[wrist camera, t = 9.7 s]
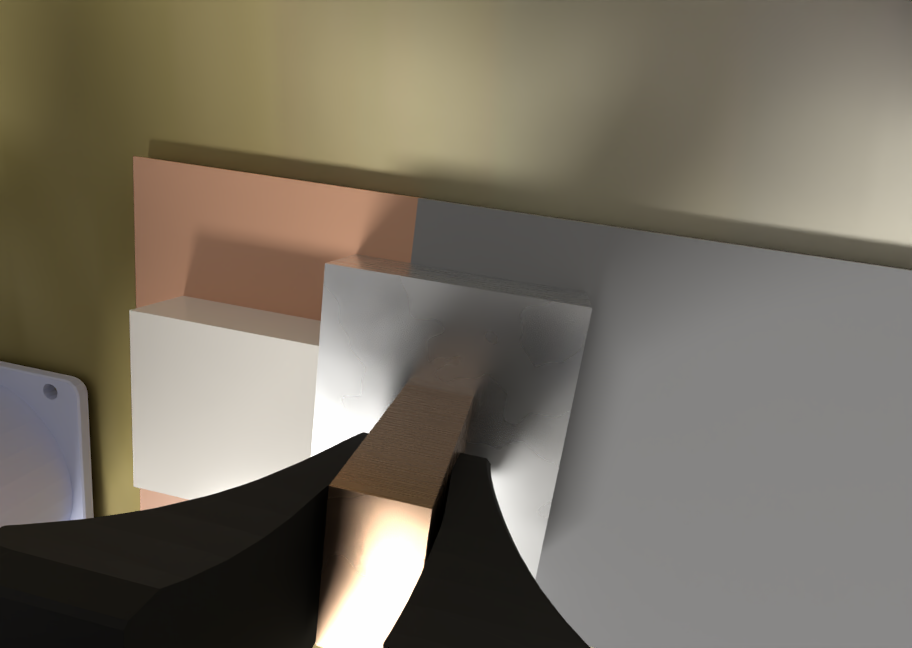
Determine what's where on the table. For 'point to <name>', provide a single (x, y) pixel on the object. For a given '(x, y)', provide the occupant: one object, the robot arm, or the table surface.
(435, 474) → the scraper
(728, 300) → the mat
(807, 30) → the table surface
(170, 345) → the block
